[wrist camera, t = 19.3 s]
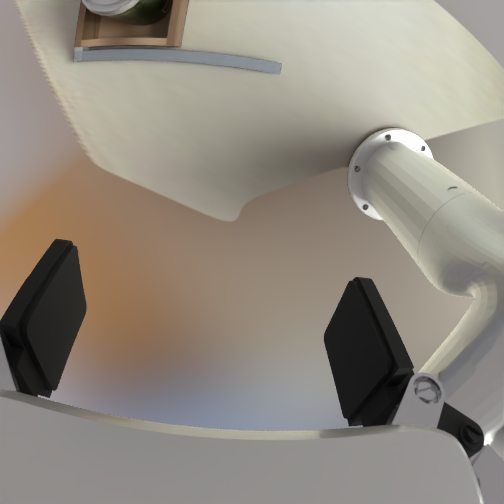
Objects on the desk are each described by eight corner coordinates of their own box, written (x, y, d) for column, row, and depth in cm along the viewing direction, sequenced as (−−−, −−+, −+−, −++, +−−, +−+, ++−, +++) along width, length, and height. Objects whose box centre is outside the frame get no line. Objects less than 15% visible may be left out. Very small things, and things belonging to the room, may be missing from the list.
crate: (196, -35, 23) (191, -48, 19) (180, 47, 28) (173, 45, 24) (106, -33, 21) (90, -43, 17) (93, 47, 27) (74, 47, 22)
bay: (298, -32, 24) (302, -37, 22) (276, 73, 31) (279, 74, 29) (97, -42, 20) (91, -46, 19) (80, 60, 27) (73, 61, 26)
